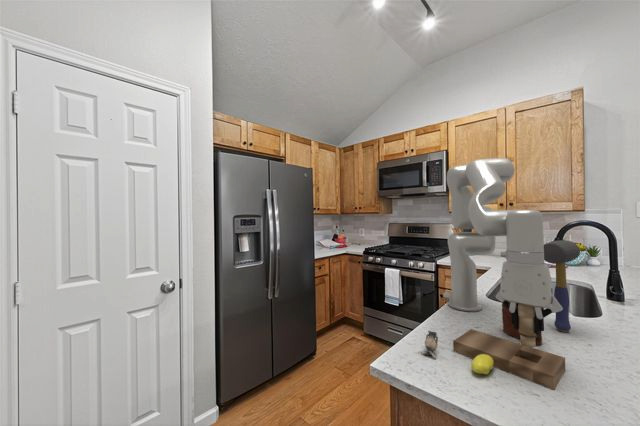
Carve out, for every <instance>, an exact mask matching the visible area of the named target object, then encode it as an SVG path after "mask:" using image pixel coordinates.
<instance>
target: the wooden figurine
mask: <svg viewBox="0 0 640 426" xmlns="http://www.w3.org/2000/svg"><path fill="white" fill-rule="evenodd" d="M501 303H502V302H501ZM501 307H502V309H501V313H502V314H501V315H502V316H501V317H502V331H503V332H504V333H505V334H507V335H509V336H510V337H514V338H516V339H519V340H520V334H519V328H518V329H514V324H512V316H511V312H510V311H509V309H508V308H507V307H506V306H505V305H504V304H503V303H502V304H501ZM542 332H543V331H541V333H540V334H539V335H537V337H536V338H535V341H536V346H542V344H543V337H542V335H543V334H542Z"/></svg>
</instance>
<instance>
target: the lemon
mask: <svg viewBox="0 0 640 426" xmlns="http://www.w3.org/2000/svg"><path fill="white" fill-rule="evenodd" d="M493 365H494V361H493V359H492V358H491V357H490V356H489V355H485V354H481V355H478V356H476V357H475V358H474V359H473V360H472V361H471V368H472V371H473V372H474V373H476V374H480V375H488V374H489V373H490V371H491V370H492V369H493V368H494V367H493Z"/></svg>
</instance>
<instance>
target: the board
mask: <svg viewBox="0 0 640 426" xmlns="http://www.w3.org/2000/svg"><path fill="white" fill-rule="evenodd" d="M452 346H453V347H452V348H453V352H455V353H458V354H460V355H462V356H466V357H468V358H470V359H474V358H475V357H476V356H478V355H481V354H485V355H489V356H490V357H491V358H492V359H493V361H494V365H493V367H492V368H496V369H499V370H502V371H504V372H506V373H509V374H511V375H514V376H517V377H519V378H522V379H525V380H527V381H530V382H533V383H535V384H537V385H539V386H540V385H541V386H543V387H545V388H548V389H550V390H553V391H555V390H556V388H557V385H558V384H559V382H560V380H561V379H562V376H563V375H564V374H565V371H566V357H564V356H561V355H558V354H554V353H553V352H552V353H551V352H549V351H548V352H547V351H545V350H541V349H538V348H536V347H527V346H524V345H522V344H521V343H518V342H515V341H512V340H509V339H506V338H502V337H500V336H499V337H498V336H495V335H492V334H489V333H486V332H483V331H479V330H476V329H473V328H471V329H469V330H467V331H466V332H464V333H462V334H461V335H460V336H458V337H457V338H455V339H453V343H452Z"/></svg>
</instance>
